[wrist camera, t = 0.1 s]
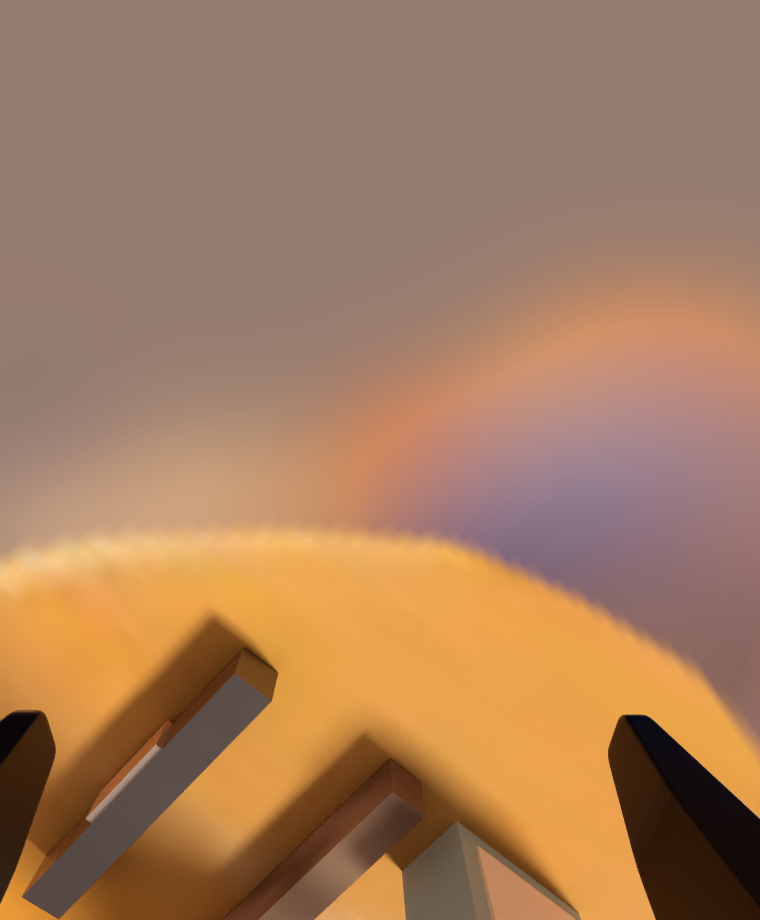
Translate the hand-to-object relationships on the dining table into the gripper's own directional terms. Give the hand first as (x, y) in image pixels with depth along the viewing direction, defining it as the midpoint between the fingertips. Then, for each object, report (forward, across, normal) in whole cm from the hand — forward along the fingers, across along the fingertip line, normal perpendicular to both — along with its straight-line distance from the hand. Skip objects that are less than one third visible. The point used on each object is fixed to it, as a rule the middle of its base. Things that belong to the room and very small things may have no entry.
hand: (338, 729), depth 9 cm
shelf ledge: (+10, +2, +23) cm, 25 cm away
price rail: (+11, +9, +18) cm, 23 cm away
